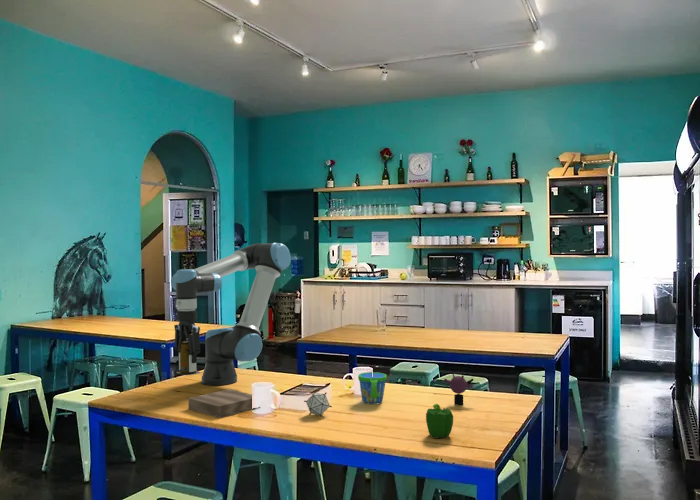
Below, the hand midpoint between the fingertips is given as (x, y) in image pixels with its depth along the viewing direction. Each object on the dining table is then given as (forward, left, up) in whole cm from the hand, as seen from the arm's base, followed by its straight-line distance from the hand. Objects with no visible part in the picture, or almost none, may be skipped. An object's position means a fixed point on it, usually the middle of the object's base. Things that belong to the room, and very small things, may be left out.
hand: (187, 370), depth 226 cm
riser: (-1, +22, -11) cm, 25 cm away
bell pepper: (-23, +98, -11) cm, 101 cm away
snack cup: (-42, +57, -11) cm, 71 cm away
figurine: (-60, +83, -11) cm, 103 cm away
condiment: (0, +1, -1) cm, 1 cm away
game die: (-16, +54, -11) cm, 57 cm away
